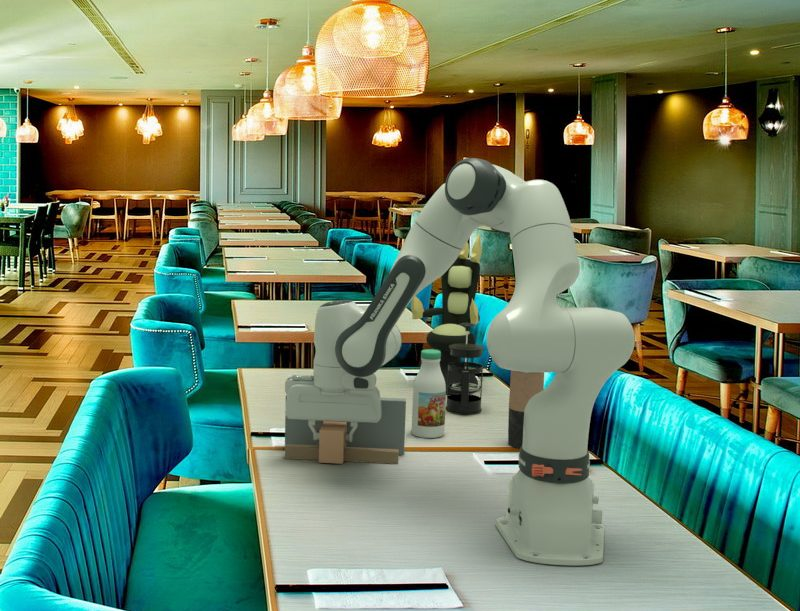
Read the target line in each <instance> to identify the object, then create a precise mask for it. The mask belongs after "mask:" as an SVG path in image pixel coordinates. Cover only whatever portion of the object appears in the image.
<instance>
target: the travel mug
mask: <svg viewBox="0 0 800 611" xmlns="http://www.w3.org/2000/svg"><path fill="white" fill-rule="evenodd" d="M509 382H510V384H509V398H508V420H507V422H508V426H507V428H508V429H507V430H508V431H507V433H508V434H507V444H508V446H509V447H512V448H515V449H519V448H520V447H521V446H522V445H523V427H524V410H525V407H526V405H527V403H528V401H529V400H530V399H531V397H533V396H534V395H535V394H537V393H539V392H540V391H542V390H544V389H545V386H544V384H545V372H539V373H524V372H518V371H513V370H510V380H509Z"/></svg>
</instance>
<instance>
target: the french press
mask: <svg viewBox="0 0 800 611" xmlns="http://www.w3.org/2000/svg"><path fill="white" fill-rule="evenodd" d="M459 325H461V326H465V331H466V344H452V345H449V348H450V349H451V353H450V354H451V355H452V356H455V357H461V359H462V358H463V359H464V361H462V362H452V363H449V364H448V383H447V394H446V405H445V412H448V413H451V414H453V415H460V416H461V415H462V416H473V415H478V414H480V413H482V411H483V409H482V397H483V396H482V392H483V372H484V366H483V364H482V363H478V362H472V361H467V359H475V358H480V357H482V356H483V354H482V353H483V351H484V349H485V347H484V346H483V345H479V344H476V343H475V344H467V339H468V331H469V326H471V327H476V324H473V323H460V324H459ZM455 367H462V368H455ZM468 368H469V369H468ZM449 371H451V372H454V373H460V374H461V383H452V384H449ZM470 374H474V375H477V374H480V385H479V384H478V385H477V384H472V383H469V375H470ZM448 384H449V385H448ZM448 386H449V389H451V390H454V391H458V392H461V394H448ZM479 391H480V396H478V395H475V394H470V393H474V392H479Z"/></svg>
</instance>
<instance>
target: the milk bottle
mask: <svg viewBox="0 0 800 611" xmlns="http://www.w3.org/2000/svg"><path fill="white" fill-rule="evenodd" d="M440 358H441V352H440V350H438V349H434V348H432V349H423V350H421V351H420V360H421V364H420V368H419V370H418V372H417V375H416V376H415V379H414V381H413V390H412V409H411V433H412V434H413V436H416V437H418V438H424V439H434V438H435V439H436V438H441V437H442V436H443V435H444V434H445V427H446V425H445V424H446V405H447V394H446V385H445V380H444V377H443V374H442V372H441V369H440V360H441V359H440Z"/></svg>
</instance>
